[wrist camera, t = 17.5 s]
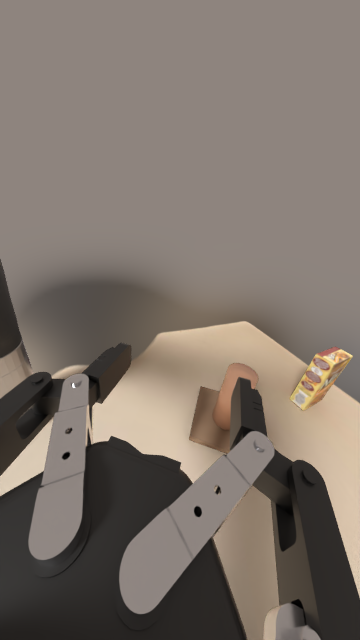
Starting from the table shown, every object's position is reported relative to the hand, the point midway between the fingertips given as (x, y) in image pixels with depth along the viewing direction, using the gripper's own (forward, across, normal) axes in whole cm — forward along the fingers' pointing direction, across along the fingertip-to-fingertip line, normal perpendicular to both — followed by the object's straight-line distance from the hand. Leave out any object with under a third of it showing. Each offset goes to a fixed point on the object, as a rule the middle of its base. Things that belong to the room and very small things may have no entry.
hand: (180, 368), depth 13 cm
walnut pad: (+18, -9, +28) cm, 35 cm away
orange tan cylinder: (+18, -9, +27) cm, 33 cm away
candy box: (+32, -30, +28) cm, 52 cm away
